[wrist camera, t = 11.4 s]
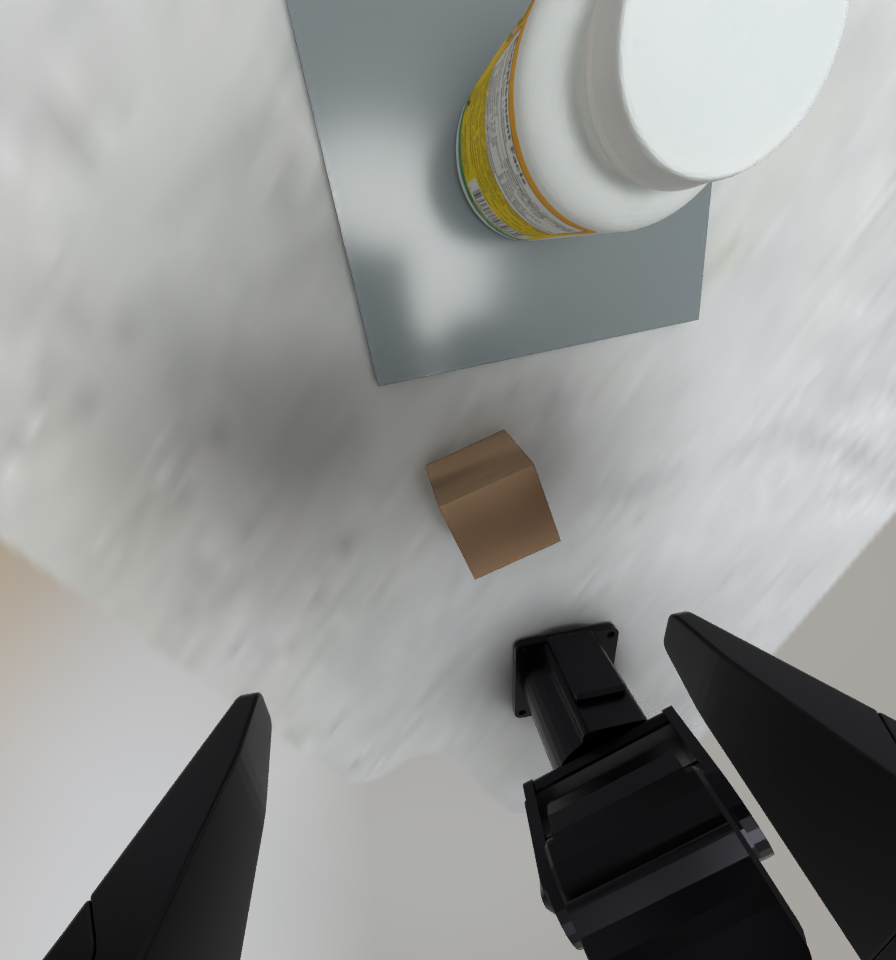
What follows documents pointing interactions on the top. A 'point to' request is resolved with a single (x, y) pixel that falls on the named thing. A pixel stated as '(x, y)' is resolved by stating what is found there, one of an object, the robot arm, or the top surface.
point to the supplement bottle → (635, 107)
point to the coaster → (462, 202)
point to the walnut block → (492, 503)
